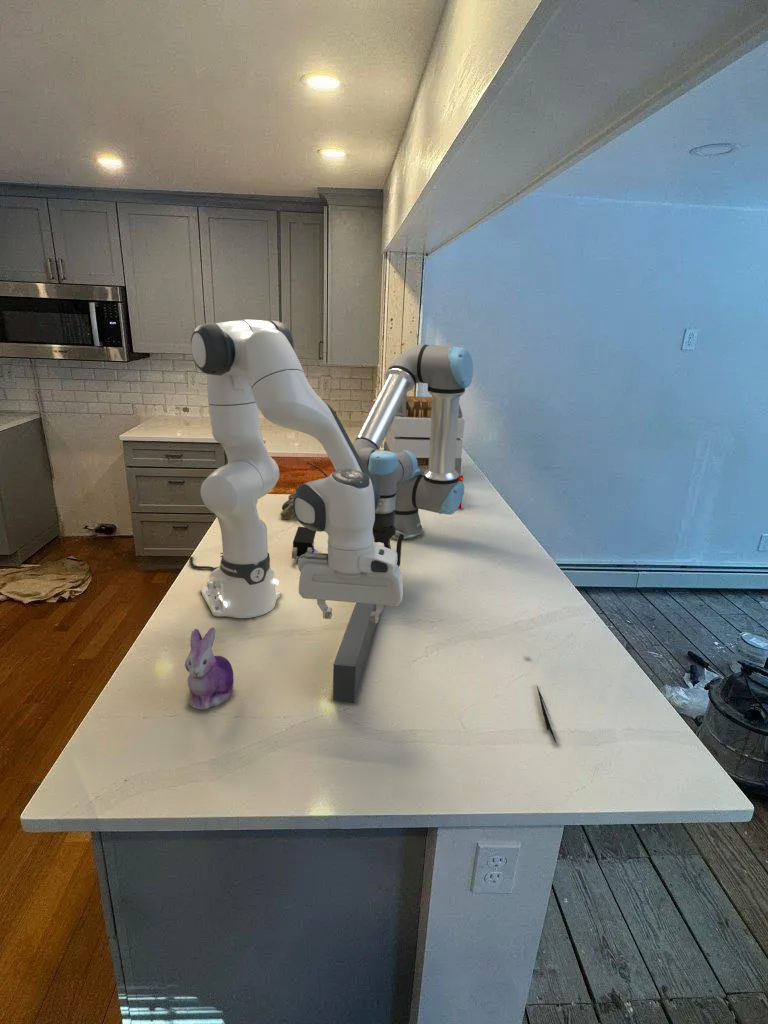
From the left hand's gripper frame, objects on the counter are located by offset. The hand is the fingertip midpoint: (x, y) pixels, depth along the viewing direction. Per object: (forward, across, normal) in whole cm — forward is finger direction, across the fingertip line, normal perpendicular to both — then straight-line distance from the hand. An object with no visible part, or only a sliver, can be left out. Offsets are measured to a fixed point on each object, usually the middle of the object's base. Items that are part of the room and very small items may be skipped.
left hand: (350, 619), depth 112 cm
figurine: (+16, -27, -8) cm, 32 cm away
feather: (+17, +39, +4) cm, 43 cm away
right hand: (+16, -1, +45) cm, 48 cm away
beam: (+16, -1, +23) cm, 28 cm away
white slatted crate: (+16, +3, +168) cm, 169 cm away
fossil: (+15, -39, +102) cm, 110 cm away
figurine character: (+16, -26, +62) cm, 69 cm away
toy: (+16, +16, +133) cm, 135 cm away
